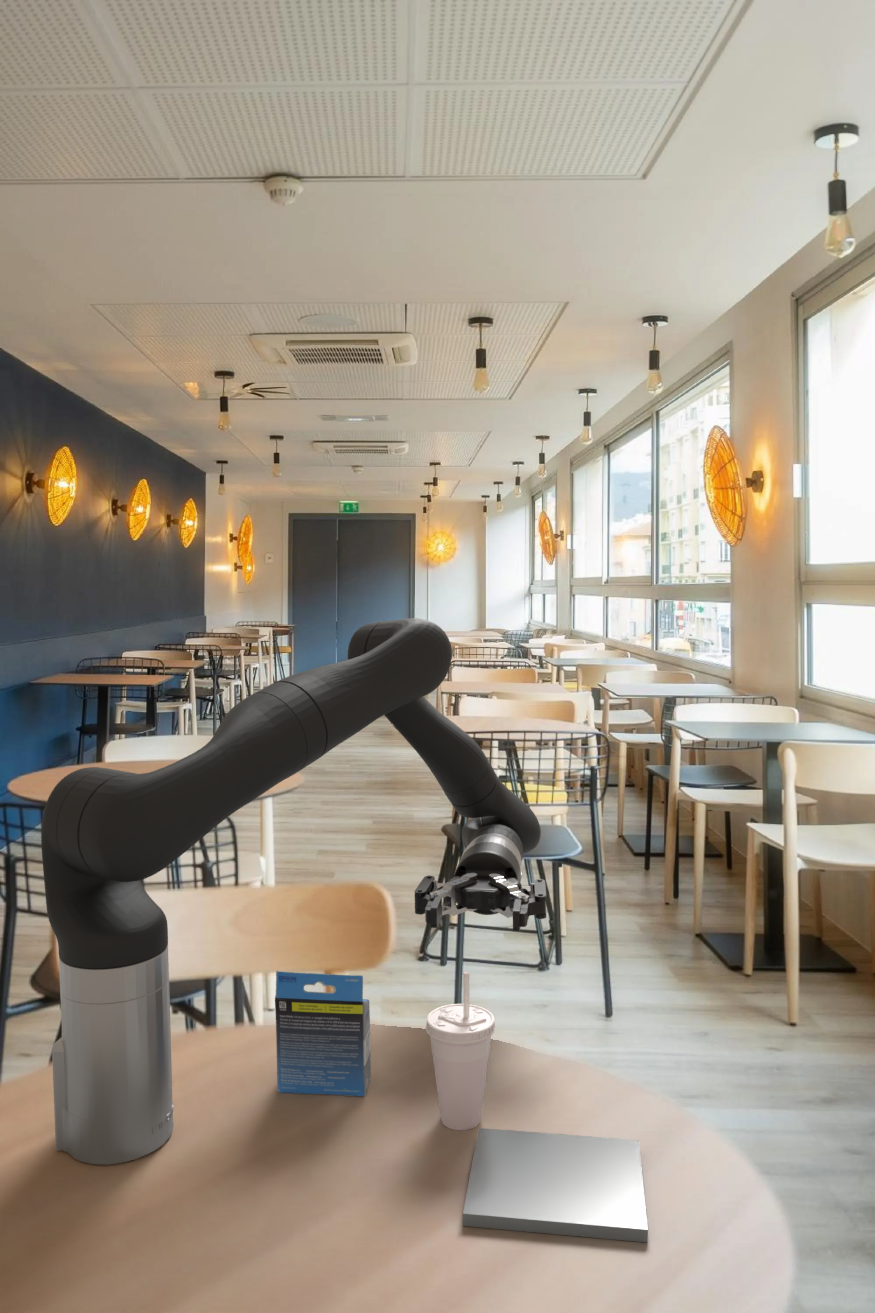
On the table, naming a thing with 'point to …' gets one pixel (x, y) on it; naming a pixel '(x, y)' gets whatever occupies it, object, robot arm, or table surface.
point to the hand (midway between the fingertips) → (474, 920)
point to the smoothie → (460, 1059)
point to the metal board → (557, 1185)
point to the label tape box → (322, 1035)
